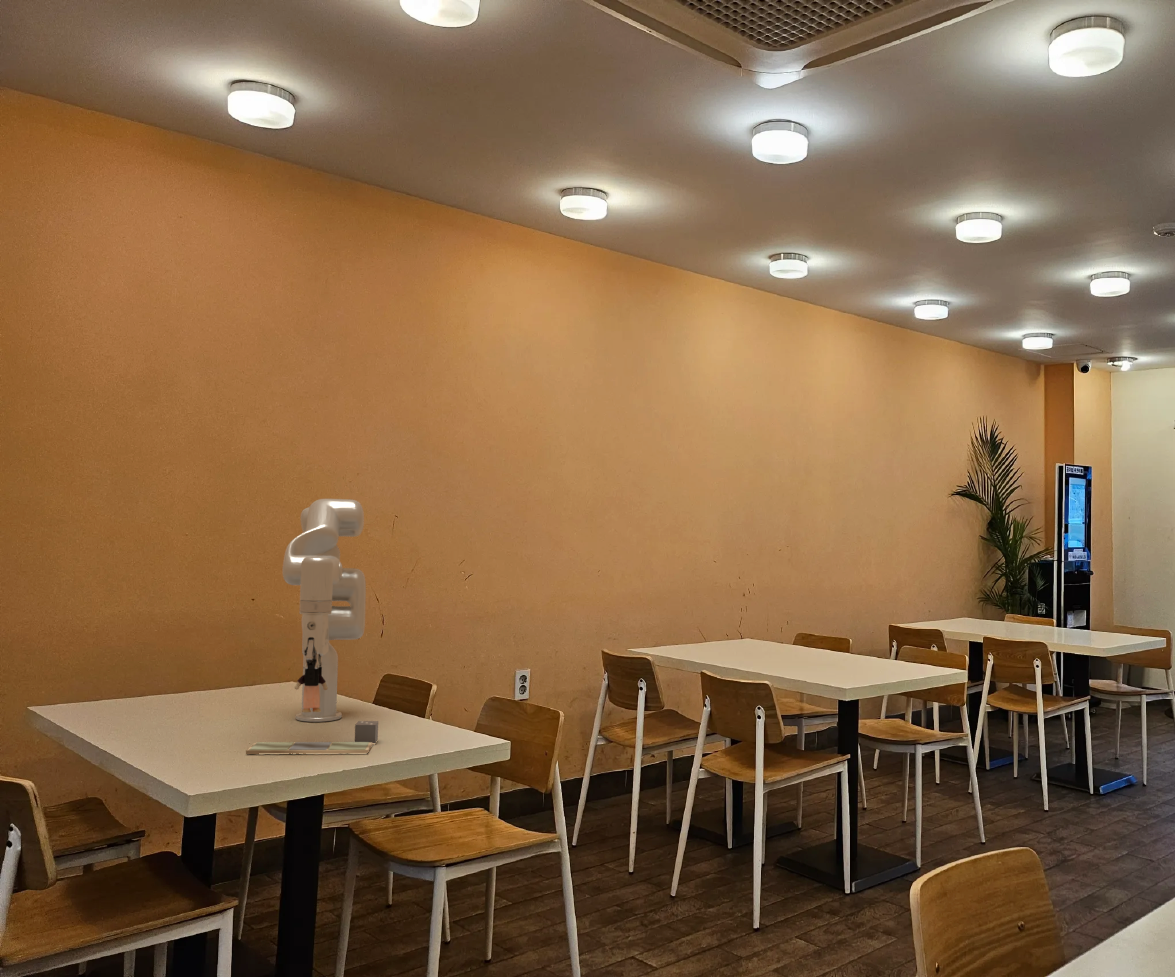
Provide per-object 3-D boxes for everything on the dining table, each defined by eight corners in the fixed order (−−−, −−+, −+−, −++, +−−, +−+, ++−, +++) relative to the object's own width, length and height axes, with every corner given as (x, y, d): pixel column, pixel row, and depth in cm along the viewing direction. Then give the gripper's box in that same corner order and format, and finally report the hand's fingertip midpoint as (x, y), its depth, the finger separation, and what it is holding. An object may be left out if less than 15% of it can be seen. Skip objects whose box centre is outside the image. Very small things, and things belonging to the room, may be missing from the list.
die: (357, 741, 242) (358, 720, 242) (377, 741, 242) (378, 720, 243) (354, 745, 237) (355, 724, 237) (374, 745, 237) (375, 724, 238)
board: (254, 746, 232) (255, 741, 232) (372, 746, 235) (372, 741, 235) (245, 755, 223) (246, 749, 223) (367, 754, 226) (367, 749, 226)
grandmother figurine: (321, 710, 233) (324, 657, 235) (327, 711, 230) (330, 658, 232) (290, 711, 228) (294, 658, 230) (297, 713, 225) (300, 658, 227)
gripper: (326, 610, 224) (323, 689, 222) (336, 605, 240) (334, 679, 239) (293, 610, 223) (290, 689, 222) (306, 605, 239) (303, 679, 238)
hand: (312, 683), depth 230 cm, fingers closed on grandmother figurine, 3 cm apart
